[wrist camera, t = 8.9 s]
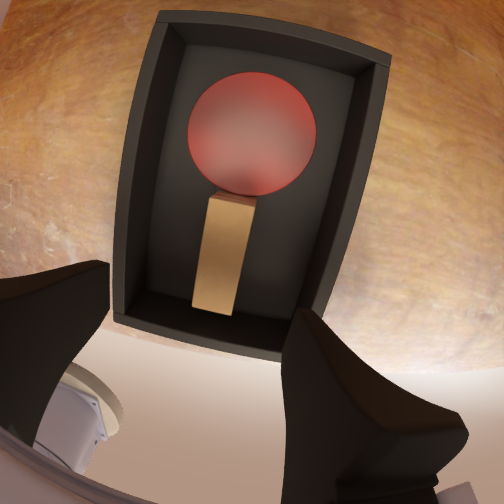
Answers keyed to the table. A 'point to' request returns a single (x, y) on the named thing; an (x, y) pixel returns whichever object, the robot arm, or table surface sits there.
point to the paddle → (243, 168)
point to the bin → (201, 189)
